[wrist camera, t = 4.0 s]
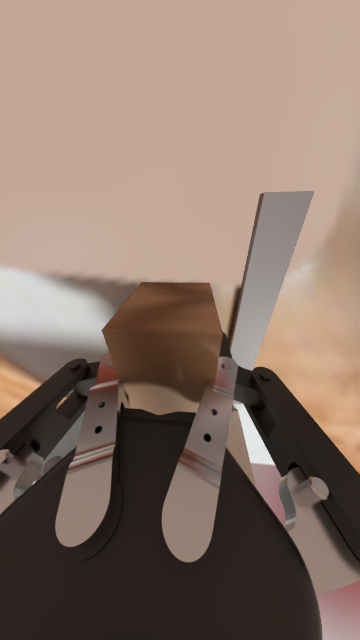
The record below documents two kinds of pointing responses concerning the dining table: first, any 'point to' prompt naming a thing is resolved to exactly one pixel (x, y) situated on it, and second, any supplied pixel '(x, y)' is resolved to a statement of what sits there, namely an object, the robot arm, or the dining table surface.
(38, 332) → the dining table surface
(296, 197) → the door frame
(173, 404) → the block
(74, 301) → the dining table surface
